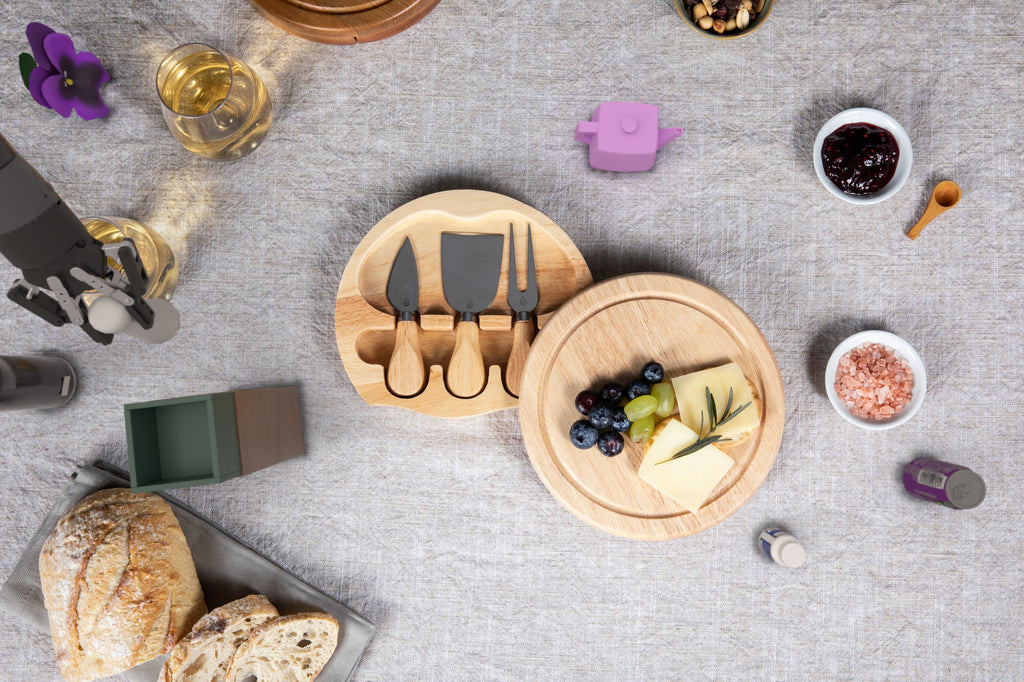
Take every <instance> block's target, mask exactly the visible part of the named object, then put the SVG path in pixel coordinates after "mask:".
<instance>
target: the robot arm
mask: <svg viewBox="0 0 1024 682" xmlns="http://www.w3.org/2000/svg"><path fill="white" fill-rule="evenodd" d="M0 254H1V255H2V256H3V257H4V258H5V259H6V260H7V262H9V263H10V264H11V265H12V266H13V267H15V268H16V269H19V270H20V271H21V273H22V277H21V278H16V279H14V280H13V282H12V284H11V286H10V288H9V289H8V291H7V293H6V297H7V299H8V300H10V301H11V302H13V303H15V304H16V305H18V306H19V307H21V308H23V309H25V310H27V311H29V312H30V313H31V314H33V315H35V316H37V317H38V318H40V319H42V320H44V321H45V322H47V323H48V324H50V325H51V326H54V327H56V328H62V327H64V326H65V325H66V324H67V325H69V324H73V325H75V326H78V327H79V328H81V330H82V331H83V332H84V333H86V335H88V337H89V338H90V339H91V340H92V341H93V342H95V343H97V344H101V345H102V346H104V347H106V346H109V345H112V343H113V341H114V337H115V333H103V332H101V331H98V330H96V329H94V328H93V326H92V325H91V324H90V323H89V319H88V315H87V314H88V310H89V305H88V304H87V302H86V300H85V297H84V292H87V291H95V290H96V291H97V292H99V293H100V294H102V295H103V296H112V297H113V298H115V299H116V300H118V301H120V302H121V303H123V304H124V305H126V307H125V309H126V310H127V311H128V312H129V313H130V314H131V315H132V317H133V318H134V319H135V320H136V321H137V322H138V323H139V324H140V325H141V326H142V328H143V329H144V330H148V329H151V328H152V327H153V323H154V317H155V313H154V311H153V309H152V308H151V307H150V306H149V305H148V304H147V303H146V301H145V300H144V299H145V298H144V297H143V296H145V295H146V293H147V287H148V284H149V282H150V278H149V276H148V273H147V270H146V268H145V265H144V263H143V260H142V257H141V256H140V253H139V250H138V248H137V245H136V243H135V241H134V239H133V238H131V237H128V236H126V237H123V238H122V239H121V242H112V243H105V242H103V241H102V240H100V239H98V238H96V237H94V236H93V235H92V234H91V233H90V232H89V230H88V229H87V227H86V226H85V224H84V223H83V221H81V220H80V218H79V217H78V216H77V215H76V213H74V211H73V210H72V209H71V208H70V207H69V206H68V204H67V203H66V202H65V201H64V200H63V199H62V197H61V196H60V195H59V194H58V193H57V191H56V190H55V189H54V187H53V185H52V184H51V182H48V181H47V180H46V178H44V176H43V175H42V174H41V173H40V172H39V171H38V169H37V168H35V167H34V166H33V165H32V164H31V163H30V162H29V161H28V160H27V159H25V158H24V157H23V155H21V153H19V151H18V150H16V148H15V147H14V146H13V145H12V143H11V142H10V141H9V140H8V139H7V137H5V136H4V134H3V133H2V132H1V131H0ZM108 257H110V258H112V259H113V261H114V262H115V263H116V264H117V265H119V266H120V265H121V266H122V267H123V270H124V274H125V275H126V278H127V279H126V278H124V277H123V275H122V273H121V272H120V271H119V270H117V269H116V268H115V267H113V266H112V265H110V264H108ZM42 289H44V290H47V291H49V292H52V293H53V294H54V296H55V298H54V297H52V296H51V295H49V294H47V293H46V292H44V291H43V290H42ZM77 386H78V378H77V373H76V371H75V368H74V367H73V366H72V364H71V363H70V362H69V361H68V360H65V359H64V358H62V357H60V356H54V355H47V356H40V355H39V356H37V355H4V354H0V413H6V412H20V411H22V412H23V411H33V410H34V411H35V410H51V409H52V410H54V409H58V408H61V407H63V406H65V405H66V404H67V403H69V402H70V400H71V399H72V398H73V397H74V395H75V393H76V390H77Z"/></svg>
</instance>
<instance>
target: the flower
mask: <svg viewBox="0 0 1024 682" xmlns="http://www.w3.org/2000/svg"><path fill="white" fill-rule="evenodd" d="M25 36H26V39H27V42H28V43H29V46H30V49H31V51H32V54H33V56H32V54H30V53H28V52H25V51H22V52H20V53H19V55H18V66H19V74H20V76H21V79H22V82H23V85H24V87H25V88H26V89H27V90H28V91H29V93H30V95H31V97H32V100H34V101H35V102H36V103H37V104H38V105H39V106H40V107H44V108H46V109H48V110H53V111H54V112H55V113H57V114H58V115H59V116H61V117H62V118H64V119H68V118H70V117H71V114H72V112H73V109H74V111H75V113H76V115H77V116H78V117H79V118H81V119H83V120H85V122H89V121H93V120H95V119H104V118H105V117H106V116H107V114H108V113H109V111H110V109H109V107H108V106H107V104H106V102H105V101H104V99H103V98H102V95H101V93H100V88H101V86H102V84H104V83H107V82H108V81H109V80H111V76H110V75H109V73H108V71H107V70H106V68H105V67H104V66H103V64H102V62H101V60H100V59H99V58H98V57H96V56H95V55H94V54H93V53H92V52H91V51H83V50H80V51H78V53H77V52H76V48H75V45H74V41H73V39H72V38H71V36H70V35H69V34H66V33H62V32H57V31H56V30H55V29H54V28H51V27H50V26H49V25H47V24H44V23H42V22H39V21H30V22H29V23H28V24H27V25H26V27H25Z"/></svg>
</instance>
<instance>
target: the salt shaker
mask: <svg viewBox="0 0 1024 682" xmlns="http://www.w3.org/2000/svg"><path fill="white" fill-rule="evenodd" d="M143 299H144V300H145V301H146V303H147V304H148V305H149V306H150V307H151V308H152V309H153V311H154V313H155V317H154V323H153V327H152V328H151V329H148V330H144V329H143V328H142V326H141V325H140V324H139V323H138V322H137V321H136V320H135V319H134V318H133V317H132V315H131V314H130V313H129V312H128V311H127V310H126V309H125V307H126V305H124V304H123V303H121V302H120V301H118V300H116V299H115V298H113V297H112V296H106V295H101V296H98V297H97V298H94V299H93V301H92V302H91V303H90V304H89V305H88V308H89V309H88V314H87V315H88V319H89V323H90V324H91V325H92V326H93V328H94V329H96V330H98V331H101V332H103V333H114V334H119V333H123V334H126V335H128V336H130V337H133V338H134V339H137V340H139V341H142V342H144V343H146V344H149V345H162V344H164V343H166V342H168V341H170V340H172V339H173V338H174V337H175V335H176V334H177V333H178V332H179V331H180V330H181V314H180V312H179V311H178V309H177V308H176V307H175V306H174V305H173V303H171V302H169V301H167V300H165V299H163V298H160V297H157V298H155V297H154V298H143Z"/></svg>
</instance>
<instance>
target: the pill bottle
mask: <svg viewBox="0 0 1024 682" xmlns="http://www.w3.org/2000/svg"><path fill="white" fill-rule="evenodd" d="M758 546H759V550H760V551H761V552H762V554H763V555H765V556H766V557H767V558H769V559H770V560H772V561H773V562H774V563H775V564H777V565H779V566H781V567H783V568H793V569H796V568H800V567H802V566H803V565H804V564H805V562H806V559H807V551H806V550H805V547H803V545H802V543H801V541H800V540H799V539H798V538H796V537H795V536H793V534H790V533H788V532H787V531H785V530H784V529H782V528H779V527H777V526H776V527H775V526H772V527H771V526H770V527H768V528H766V529H764V530H763V531H762V532H761V533H760V535H759V537H758Z"/></svg>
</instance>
